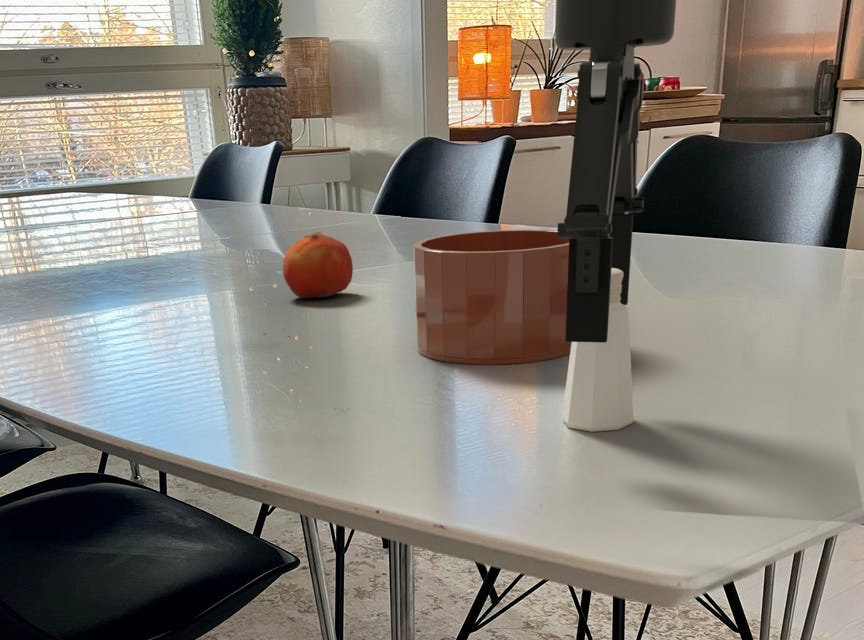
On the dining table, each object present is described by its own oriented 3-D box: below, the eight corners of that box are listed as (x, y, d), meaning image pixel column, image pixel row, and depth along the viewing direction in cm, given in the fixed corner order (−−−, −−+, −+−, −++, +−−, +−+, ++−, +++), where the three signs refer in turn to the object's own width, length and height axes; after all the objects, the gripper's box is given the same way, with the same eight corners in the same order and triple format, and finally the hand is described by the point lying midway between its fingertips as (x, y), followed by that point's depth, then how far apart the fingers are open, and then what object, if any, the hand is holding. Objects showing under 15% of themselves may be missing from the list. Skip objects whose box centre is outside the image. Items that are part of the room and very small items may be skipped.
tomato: (288, 305, 131) (281, 238, 127) (283, 294, 139) (277, 231, 135) (359, 299, 132) (355, 233, 128) (350, 288, 140) (346, 226, 136)
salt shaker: (628, 433, 75) (638, 276, 70) (555, 430, 76) (558, 276, 71) (637, 413, 79) (646, 263, 74) (567, 410, 81) (572, 264, 76)
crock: (592, 329, 108) (597, 228, 103) (569, 366, 94) (573, 251, 89) (440, 328, 113) (438, 231, 108) (397, 363, 99) (392, 253, 94)
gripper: (583, -6, 76) (572, 291, 86) (520, -39, 55) (514, 358, 65) (688, -14, 74) (663, 291, 84) (664, -52, 53) (635, 361, 63)
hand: (598, 321), depth 74 cm, fingers open, 13 cm apart
